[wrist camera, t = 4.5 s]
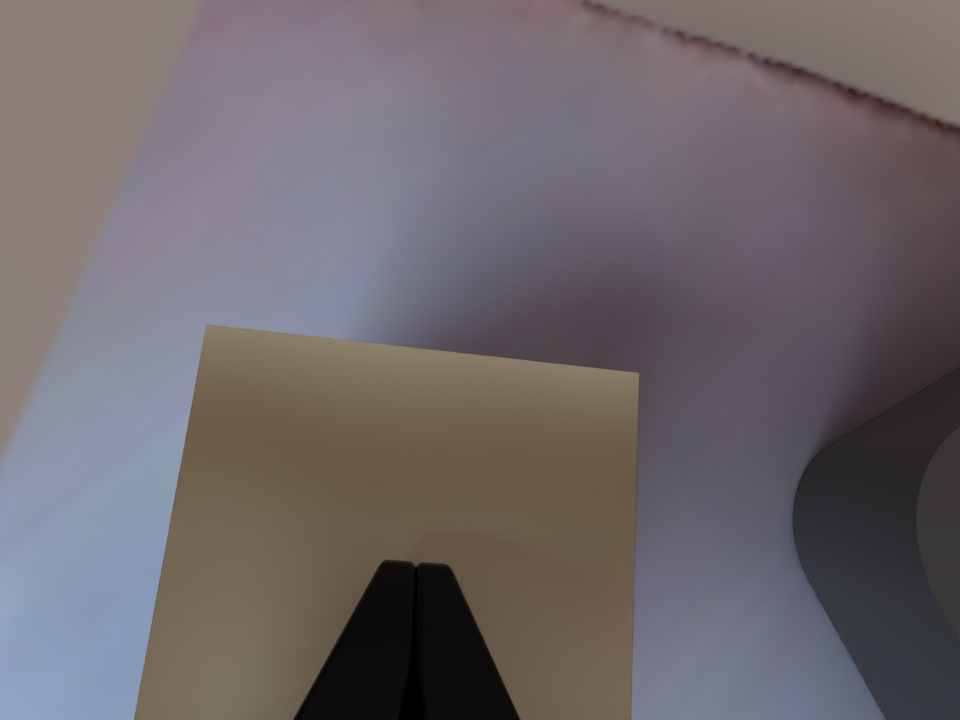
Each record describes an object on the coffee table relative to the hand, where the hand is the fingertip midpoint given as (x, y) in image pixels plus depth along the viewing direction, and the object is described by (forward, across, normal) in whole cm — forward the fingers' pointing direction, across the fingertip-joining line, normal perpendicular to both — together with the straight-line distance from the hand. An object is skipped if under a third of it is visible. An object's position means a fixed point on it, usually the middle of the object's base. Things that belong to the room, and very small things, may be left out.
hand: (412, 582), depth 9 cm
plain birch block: (+7, 0, +8) cm, 10 cm away
